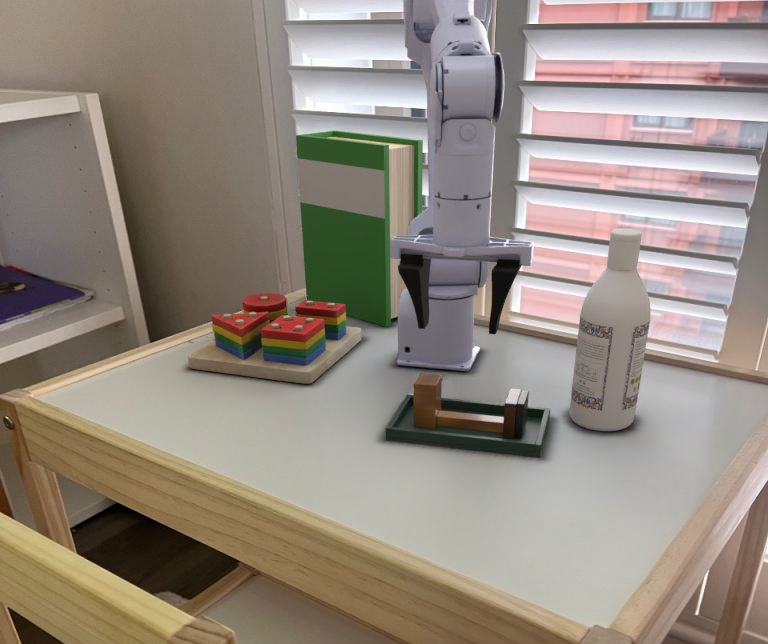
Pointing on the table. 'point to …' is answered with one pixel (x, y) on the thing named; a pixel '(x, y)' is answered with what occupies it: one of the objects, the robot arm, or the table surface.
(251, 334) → the shape sorter
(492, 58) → the robot arm
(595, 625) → the table surface
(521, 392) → the brown barbell-shaped piece
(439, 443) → the brush tray
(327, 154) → the hardback book
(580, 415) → the bath foam
